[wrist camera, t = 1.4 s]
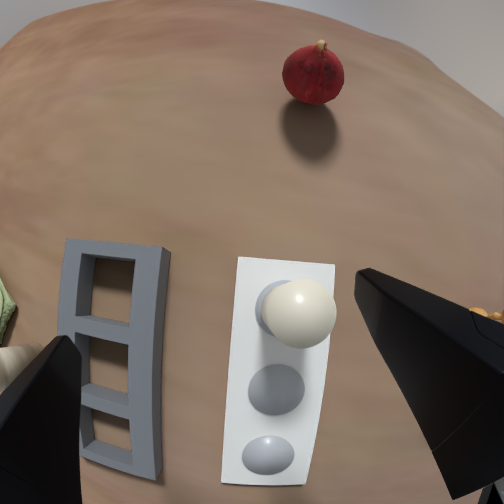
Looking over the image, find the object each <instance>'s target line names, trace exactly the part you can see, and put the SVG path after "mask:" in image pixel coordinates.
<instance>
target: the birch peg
mask: <svg viewBox="0 0 504 504" xmlns="http://www.w3.org/2000/svg"><path fill="white" fill-rule="evenodd" d="M43 349H44V348H43V347H42V346H41V345H40V344H38V343H32V344H26V345H19V346H12V347H4V348H0V390H4V389H6V388H7V387H8V386H9V385H10V384H11V382H12V381H13V380H14V379H15V378H16V377H17V376H18V375H19V374H20V373H21V372H22V371H23V369H24V368H25V367H26V366H27V365H28V364H29V363H30V362H31V361H32V360H33V359H34V358H35V357H36V356H37V355H38V354H39V353H40V352H41V351H42V350H43Z"/></svg>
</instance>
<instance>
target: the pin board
mask: <svg viewBox="0 0 504 504" xmlns="http://www.w3.org/2000/svg"><path fill="white" fill-rule="evenodd" d="M170 255H171V252H169V251H168V250H166V249H165V248H163V247H158V246H147V245H136V244H125V243H113V242H102V241H91V240H80V239H69V238H66V244H65V250H64V257H63V264H62V272H61V281H60V292H59V305H58V330H57V336H60V335H67V336H69V337H70V339H71V340H72V341H73V343H74V344H75V345H76V347H77V348H78V349H79V351H80V353H81V355H82V381H81V413H80V440H79V455H80V456H82V457H85V458H87V459H90V460H92V461H95V462H97V463H100V464H103V465H105V466H108V467H111V468H114V469H117V470H120V471H123V472H126V473H130V474H133V475H136V476H140V477H144V478H147V479H151V480H155V481H156V479H157V477H158V475H159V473H160V471H161V469H162V467H163V464H162V443H161V367H162V344H163V328H164V314H165V302H166V291H167V281H168V272H169V263H170ZM96 258H104V259H112V260H121V261H130V262H135V269H134V278H133V288H132V298H131V310H130V323H125V322H120V321H115V320H110V319H105V318H100V317H96V316H91V315H90V311H91V297H92V286H93V277H94V269H95V261H96ZM89 336H93V337H97V338H101V339H105V340H109V341H114V342H118V343H123V344H128V345H129V346H128V394H127V393H123V392H119V391H116V390H112V389H108V388H105V387H102V386H98V385H95V384H92V383H90V376H89ZM91 408H93V409H96V410H99V411H102V412H105V413H108V414H112V415H115V416H118V417H122V418H125V419H129V425H130V438H131V449H132V451H129V450H126V449H123V448H119V447H116V446H113V445H110V444H107V443H104V442H101V441H99V440H96V439H95V436H94V428H93V419H92V409H91Z"/></svg>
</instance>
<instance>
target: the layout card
mask: <svg viewBox="0 0 504 504" xmlns="http://www.w3.org/2000/svg"><path fill="white" fill-rule="evenodd" d="M334 276H335V265H333V264H321V263H308V262H296V261H284V260H272V259H261V258H249V257H238V265H237V276H236V288H235V299H234V311H233V323H232V335H231V347H230V360H229V373H228V386H227V400H226V414H225V428H224V443H223V459H222V476H221V482H222V483H233V484H248V485H298V484H306V479H307V475H308V471H309V467H310V462H311V457H312V453H313V448H314V443H315V438H316V433H317V427H318V422H319V416H320V410H321V404H322V397H323V390H324V383H325V376H326V368H327V360H328V351H329V342H330V333H331V331H332V329H333V327H334V325H335V321H336V312H337V311H336V305H335V301H334V299H333V293H334Z"/></svg>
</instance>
